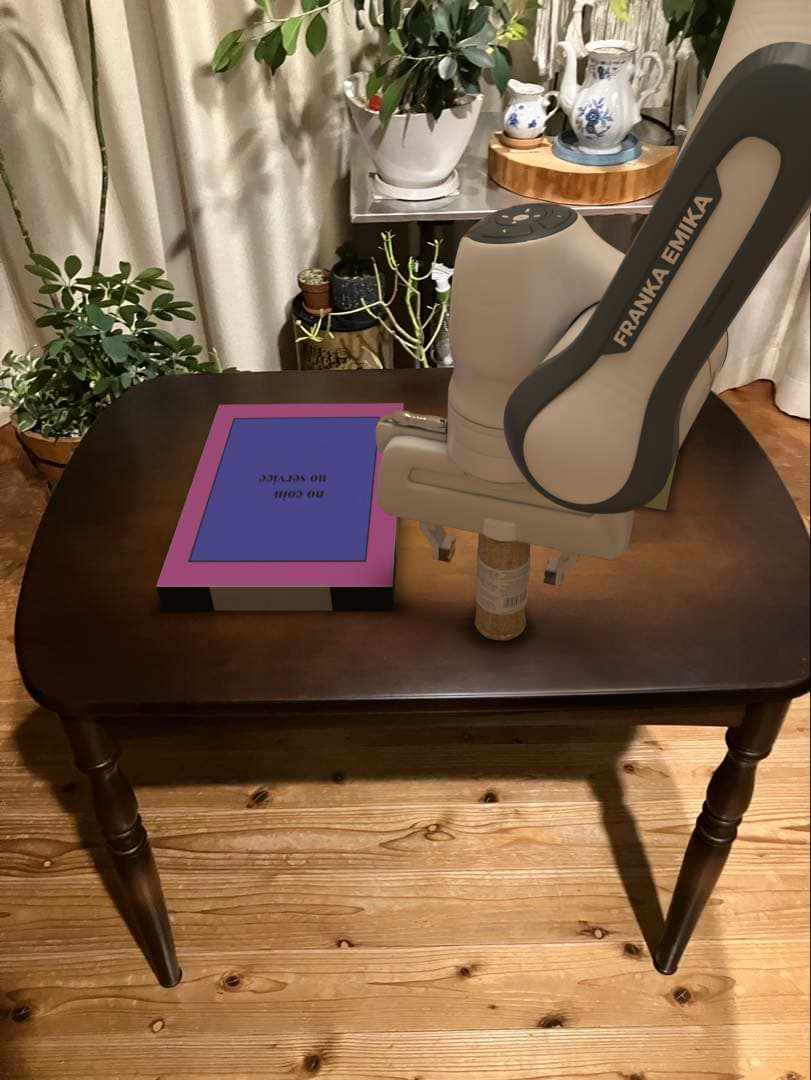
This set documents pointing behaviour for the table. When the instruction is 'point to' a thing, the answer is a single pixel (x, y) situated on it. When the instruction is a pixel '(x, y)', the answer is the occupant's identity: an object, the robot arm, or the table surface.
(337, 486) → the book
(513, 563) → the sprinkles bottle
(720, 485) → the table surface
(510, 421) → the robot arm
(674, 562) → the table surface
